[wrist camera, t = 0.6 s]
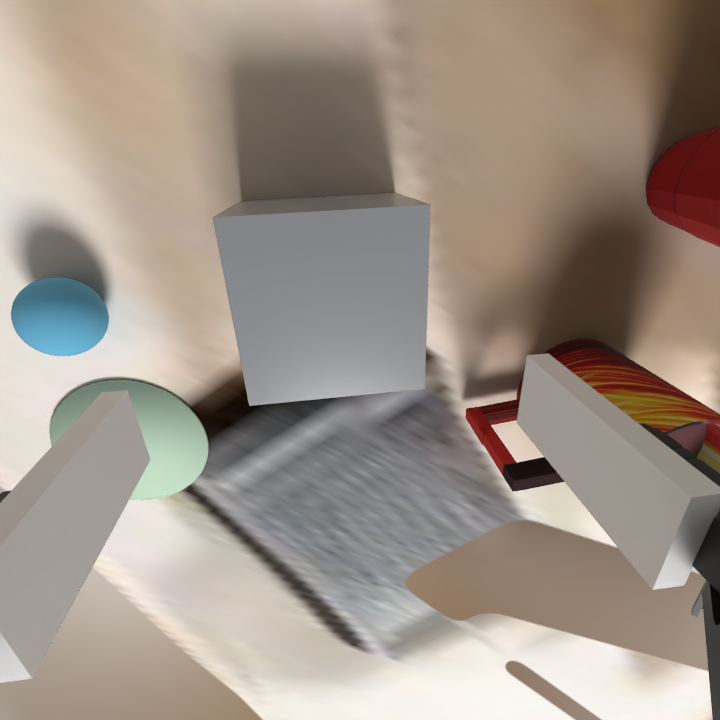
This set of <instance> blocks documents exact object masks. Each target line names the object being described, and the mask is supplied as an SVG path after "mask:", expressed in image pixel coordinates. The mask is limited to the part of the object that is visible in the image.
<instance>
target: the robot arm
mask: <svg viewBox="0 0 720 720" xmlns="http://www.w3.org/2000/svg"><path fill="white" fill-rule="evenodd" d="M517 424H518V425H519V426H520V427H521V429H522V430H523V431H524V432H525V433H526V435H527V436H528V437H529V438H530V440H531V441H532V442H533V443H534V445H535V446H536V447H537V448H538V449H539V451H540V452H541V453H542V454H543V456H544V457H545V458H546V459H547V460H548V462H549V463H550V464H551V465H552V467H553V468H554V469H555V470H556V472H557V473H558V474H559V475H560V476H561V478H562V479H563V480H564V481H565V483H566V484H567V485H568V486H569V488H570V489H571V490H572V491H573V492H574V494H575V495H576V496H577V497H578V499H579V500H580V501H581V502H582V504H583V505H584V506H585V507H586V508H587V510H588V511H589V512H590V513H591V515H592V516H593V517H594V518H595V520H596V521H597V522H598V523H599V524H600V526H601V527H602V528H603V529H604V531H605V532H606V533H607V534H608V535H609V537H610V538H611V539H612V540H613V542H614V543H615V544H616V545H617V547H618V548H619V549H620V550H621V551H622V553H623V554H624V555H625V556H626V558H627V559H628V560H629V561H630V563H631V564H632V565H633V566H634V567H635V569H636V570H637V571H638V572H639V573H640V575H641V576H642V577H643V578H644V580H645V581H646V582H647V583H648V585H649V586H650V587H651V588H652V590H655V589H661V588H669V587H676V586H682V585H685V582H686V580H687V578H688V576H689V574H690V572H691V570H692V568H693V567H694V568H695V569H696V570H697V571H698V572H699V573H700V574H701V575H702V576H703V577H704V578H705V579H706V581H705V583H704V585H703V587H702V589H701V591H700V593H699V595H698V597H697V599H696V601H695V604H694V605H693V608H692V612H691V615H694V616H696V617H697V616H698V614H699V612H700V610H701V609H703V610H704V623H705V634H706V645H707V657H708V669H709V680H710V692H711V703H712V715H713V720H720V473H718V472H717V471H716V470H714V469H713V468H712V467H710V466H709V465H708V464H706V463H705V462H704V461H702V460H701V459H697V456H696V455H694V454H693V453H692V452H690V451H689V450H688V449H684V448H683V446H682V445H681V444H680V443H678V442H677V441H676V440H674V439H673V438H671V437H670V436H669V435H667V434H666V433H664V432H662V431H660V430H658V429H656V428H654V427H651V426H649V425H647V424H645V423H641V424H638V423H637V422H636V421H634V420H633V419H632V418H631V417H629V416H628V415H627V414H625V413H624V412H623V411H622V410H620V409H619V408H618V407H616V406H615V405H614V404H613V403H611V402H610V401H609V400H607V399H606V398H605V397H604V396H602V395H601V394H600V393H598V392H597V391H596V390H595V389H593V388H592V387H591V386H589V385H588V384H587V383H586V382H584V381H583V380H582V379H580V378H579V377H578V376H577V375H575V374H574V373H573V372H571V371H570V370H569V369H568V368H566V367H565V366H564V365H562V364H561V363H560V362H559V361H557V360H556V359H555V358H553V357H552V356H551V355H550V354H536V355H527V358H526V364H525V371H524V377H523V384H522V390H521V397H520V403H519V410H518V416H517ZM150 460H151V459H150V456H149V453H148V450H147V447H146V444H145V441H144V438H143V435H142V432H141V429H140V426H139V423H138V420H137V417H136V414H135V411H134V408H133V405H132V402H131V399H130V396H129V393H128V390H124V391H113V392H102V393H101V394H100V395H99V396H98V397H97V398H96V399H95V400H94V402H93V403H92V404H91V405H90V406H89V407H88V408H87V409H86V410H85V411H84V412H83V414H82V415H81V416H80V417H79V418H78V419H77V420H76V421H75V422H74V423H73V424H72V426H71V427H70V428H69V429H68V430H67V431H66V432H65V433H64V434H63V435H62V436H61V437H60V439H59V440H58V441H57V442H56V443H55V444H54V445H53V446H52V447H51V448H50V449H49V451H48V452H47V453H46V454H45V455H44V456H43V457H42V458H41V459H40V460H39V461H38V462H37V464H36V465H35V466H34V467H33V468H32V469H31V470H30V471H29V472H28V473H27V474H26V476H25V477H24V478H23V479H22V480H21V481H20V482H19V483H18V484H17V485H16V486H15V487H14V489H13V490H12V491H5V492H2V493H1V494H0V683H3V682H9V681H17V680H24V679H31V678H33V676H34V674H35V672H36V670H37V668H38V666H39V665H40V663H41V661H42V659H43V657H44V656H45V654H46V652H47V650H48V648H49V646H50V644H51V643H52V640H53V639H54V637H55V635H56V633H57V632H58V630H59V628H60V626H61V624H62V622H63V620H64V619H65V617H66V615H67V613H68V611H69V609H70V607H71V606H72V604H73V602H74V600H75V598H76V596H77V594H78V593H79V591H80V589H81V587H82V585H83V584H84V582H85V580H86V578H87V576H88V574H89V572H90V571H91V569H92V567H93V565H94V563H95V561H96V560H97V558H98V556H99V554H100V552H101V550H102V548H103V547H104V545H105V543H106V541H107V539H108V537H109V536H110V534H111V532H112V530H113V528H114V526H115V524H116V523H117V521H118V519H119V517H120V515H121V513H122V512H123V510H124V508H125V506H126V504H127V502H128V500H129V499H130V497H131V495H132V493H133V491H134V489H135V488H136V486H137V484H138V482H139V480H140V478H141V476H142V475H143V473H144V471H145V469H146V467H147V465H148V464H149V462H150Z"/></svg>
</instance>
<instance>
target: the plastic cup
mask: <svg viewBox="0 0 720 720" xmlns="http://www.w3.org/2000/svg"><path fill="white" fill-rule="evenodd" d="M646 189H647V204H648V206H649V207H650V209H651V211H652V213H653V214H654V215H655V216H657V217H658V218H659V219H661V220H662V221H664V222H666V223H668V224H670V225H672V226H675V227H677V228H680V229H682V230H684V231H686V232H688V233H690V234H692V235H694V236H696V237H697V238H700V239H702V240H704V241H707V242H709V243H712V244H714V245H716V246H719V247H720V127H716V128H713V129H709V130H705V131H701V132H699V133H696V134H694V135H692V136H689V137H687V138H685V139H683V140H681V141H678V142H676V143H675V144H674V145H673V146H671V147H670V148H669V149H668V150H667V151H666V152H665V153H664V154H662V156H661V157H660V159H659V160H658V162H657V163H656V165H655V167H654V168H653V170H652V171H651V174H650V178H649V181H648V185H647V188H646Z"/></svg>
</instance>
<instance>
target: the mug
mask: <svg viewBox="0 0 720 720" xmlns="http://www.w3.org/2000/svg"><path fill="white" fill-rule="evenodd" d="M544 354H550V355H551V356H552V357H553V358H555V359H556V360H557V361H559V362H560V363H561V364H562V365H564V366H565V367H566V368H568V369H569V370H570V371H571V372H573V373H574V374H575V375H577V376H578V377H579V378H580V379H582V380H583V381H584V382H586V383H587V384H588V385H589V386H591V387H592V388H593V389H595V390H596V391H597V392H598V393H600V394H601V395H602V396H604V397H605V398H606V399H607V400H609V401H610V402H611V403H613V404H614V405H615V406H616V407H618V408H619V409H620V410H622V411H623V412H624V413H625V414H627V415H628V416H629V417H631V418H632V419H633V420H634V421H636V422H637V423H638V424H641V423H645V424H647V425H649V426H651V427H654V428H656V429H658V430H660V431H662V432H664V433H666V434H667V435H669V436H670V437H671V438H673V439H674V440H676V441H677V442H678V443H680V444H681V445H682V446H683V448H684V449H688V450H689V451H690V452H692V453H693V454H694V455H696V456H697V459H701V460H702V461H704V462H705V463H706V464H708V465H709V466H710V467H712V468H713V469H714V470H716V471H717V472H718V473H720V414H718V413H717V412H715V411H714V410H712V409H710V408H709V407H707V406H705V405H704V404H702V403H701V402H699V401H697V400H696V399H694V398H692V397H691V396H689V395H687V394H686V393H684V392H683V391H681V390H679V389H678V388H676V387H674V386H673V385H671V384H669V383H668V382H666V381H665V380H663V379H661V378H660V377H658V376H656V375H655V374H653V373H652V372H650V371H648V370H647V369H645V368H643V367H642V366H640V365H638V364H637V363H635V362H634V361H632V360H630V359H629V358H627V357H625V356H624V355H622V354H620V353H619V352H617V351H616V350H614V349H612V348H611V347H609V346H607V345H606V344H604V343H602V342H599V341H596V340H592V339H578V340H571V341H568V342H565V343H562V344H559V345H557V346H555V347H553V348H551V349H549V350H548V351H547V352H545V353H544ZM523 377H524V376H523ZM522 384H523V378H522V380H521V382H520V385H519V388H518V392H517V400H512V401H507V402H502V403H497V404H492V405H487V406H481V407H474V408H467V409H466V419H467V421H468V422H469V424H470V425H471V427H472V429H473V430H474V432H475V434H476V435H477V437H478V438H479V440H480V442H481V443H482V445H484V446H485V448H486V449H487V451H488V452H489V454H490V456H491V457H492V459H493V460H494V462H495V464H496V465H497V467H498V469H499V470H500V472H501V473H502V475H503V477H504V478H505V480H506V481H507V483H508V485H509V486H510V488H511V489H512V491H519V490H525V489H530V488H535V487H540V486H545V485H550V484H555V483H560V482H565V481H564V480H563V479H562V478H561V476H560V475H559V474H558V473H557V472H556V470H555V469H554V468H553V467H552V465H551V464H550V463H549V462H548V460H547V459H546V458H545V457H543V458H538V459H533V460H528V461H523V462H518V463H516V461H515V460H514V458H513V457H512V455H511V454H510V453H509V451H508V450H507V448H506V447H505V445H504V444H503V443H502V441H501V440H500V438H499V437H498V435H497V434H496V432H495V431H494V430H493V428H492V427H491V425H493V424H499V423H504V422H509V421H514V420H517V416H518V410H519V403H520V397H521V390H522Z"/></svg>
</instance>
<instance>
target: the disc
mask: <svg viewBox="0 0 720 720" xmlns="http://www.w3.org/2000/svg"><path fill="white" fill-rule="evenodd" d="M124 390H128V393H129V396H130V399H131V402H132V405H133V408H134V411H135V414H136V417H137V420H138V423H139V426H140V429H141V432H142V435H143V438H144V441H145V444H146V447H147V450H148V453H149V456H150V459H151V460H150V462H149V464H148V465H147V467H146V469H145V471H144V473H143V475H142V476H141V478H140V480H139V482H138V484H137V486H136V488H135V489H134V491H133V493H132V495H131V497H130V499H131V500H149V499H157V498H162V497H166V496H169V495H172V494H174V493H177V492H179V491H181V490H183V489H184V488H186V487H187V486H189V485H190V484H191V483H192V482H193V481H194V480H195V479H196V478H197V477H198V476H199V475H200V473H201V472H202V470H203V468H204V466H205V463H206V460H207V457H208V438H207V434H206V431H205V428H204V427H203V425H202V423H201V421H200V419H199V418H198V417H197V415H196V414H195V413H194V412H193V411H192V409H191V408H190V407H189V406H188V405H186V404H185V403H184V402H183V401H182V400H180V399H179V398H177V397H176V396H174V395H173V394H171V393H169V392H167V391H165V390H163V389H161V388H158V387H156V386H153V385H149V384H146V383H142V382H137V381H130V380H107V381H101V382H96V383H93V384H89V385H87V386H84V387H82V388H80V389H78V390H76V391H75V392H73V393H71V394H70V395H69V396H68V397H67V398H65V399H64V400H63V401H62V403H61V404H60V405H59V406H58V407H57V409H56V411H55V413H54V415H53V417H52V420H51V425H50V439H51V444H52V446H53V445H54V444H55V443H56V442H57V441H58V440H59V439H60V437H61V436H62V435H63V434H64V433H65V432H66V431H67V430H68V429H69V428H70V427H71V426H72V424H73V423H74V422H75V421H76V420H77V419H78V418H79V417H80V416H81V415H82V414H83V412H84V411H85V410H86V409H87V408H88V407H89V406H90V405H91V404H92V403H93V402H94V400H95V399H96V398H97V397H98V396H99V395H100V394H101V393H102V392H113V391H124Z"/></svg>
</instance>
